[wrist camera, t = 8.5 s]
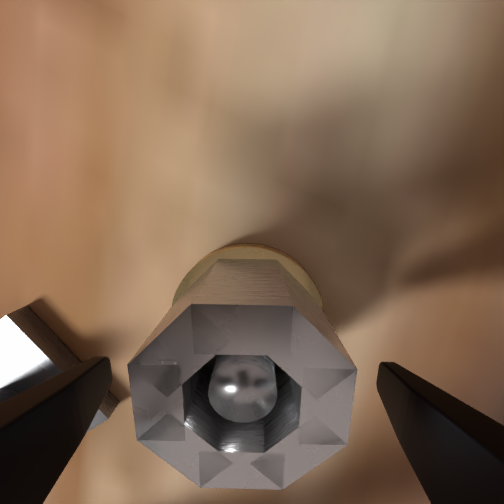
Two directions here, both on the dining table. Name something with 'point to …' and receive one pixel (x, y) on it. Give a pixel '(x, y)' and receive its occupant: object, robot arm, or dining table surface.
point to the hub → (245, 366)
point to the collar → (243, 343)
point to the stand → (36, 358)
